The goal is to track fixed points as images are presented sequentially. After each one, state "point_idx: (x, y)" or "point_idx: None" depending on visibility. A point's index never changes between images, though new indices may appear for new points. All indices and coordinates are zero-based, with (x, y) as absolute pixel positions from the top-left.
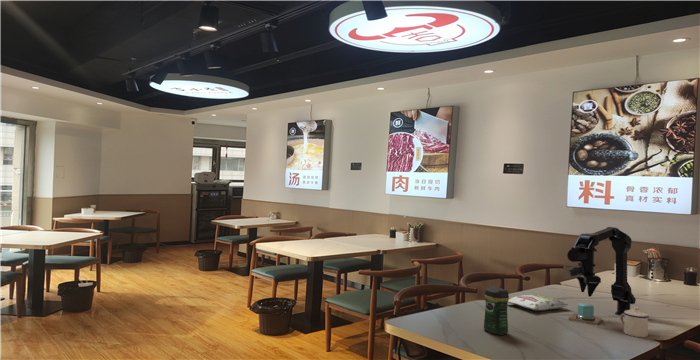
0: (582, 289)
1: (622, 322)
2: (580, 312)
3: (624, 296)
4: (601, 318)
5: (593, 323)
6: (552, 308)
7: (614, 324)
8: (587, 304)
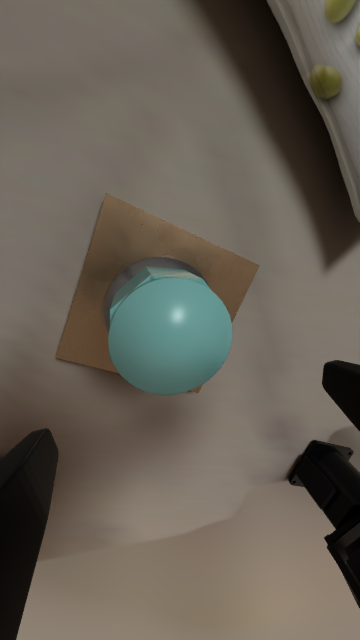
0: (357, 392)
1: None
2: (131, 283)
3: (354, 576)
4: None
5: (62, 337)
6: (323, 118)
7: (131, 427)
8: (196, 356)
